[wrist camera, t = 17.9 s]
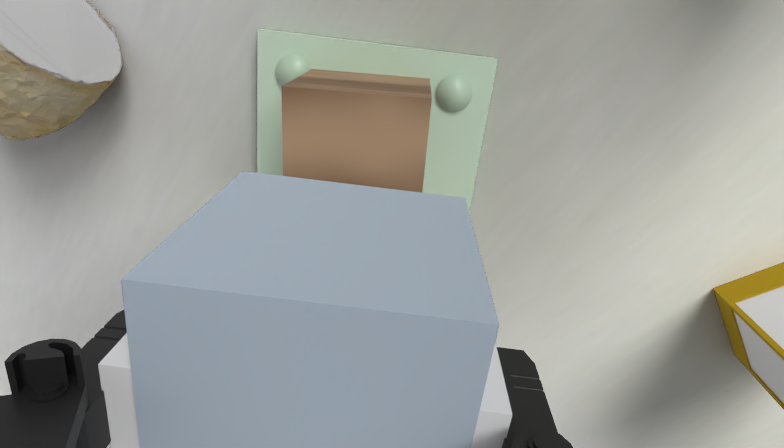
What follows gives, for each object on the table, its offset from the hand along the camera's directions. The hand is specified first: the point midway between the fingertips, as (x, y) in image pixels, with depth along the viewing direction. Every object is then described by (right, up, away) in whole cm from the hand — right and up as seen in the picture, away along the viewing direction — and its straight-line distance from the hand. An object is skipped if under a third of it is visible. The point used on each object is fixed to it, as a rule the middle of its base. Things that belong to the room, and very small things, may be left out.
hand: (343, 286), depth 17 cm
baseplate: (0, +7, +21) cm, 22 cm away
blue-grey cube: (0, 0, 0) cm, 0 cm away
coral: (-22, +15, +19) cm, 32 cm away
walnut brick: (0, +7, +20) cm, 21 cm away
